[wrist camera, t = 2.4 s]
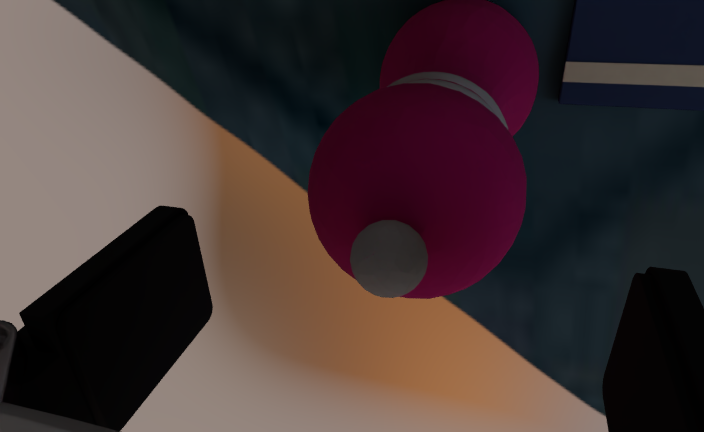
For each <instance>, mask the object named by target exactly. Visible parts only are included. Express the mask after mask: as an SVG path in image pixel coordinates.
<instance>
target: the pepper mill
mask: <svg viewBox="0 0 704 432" xmlns="http://www.w3.org/2000/svg"><path fill="white" fill-rule="evenodd" d="M538 80H539V64H538V59H537V54H536V50H535V48H534V45H533V43H532V40H531V38H530V37H529V35H528V33H527V32H526V30H525V29H524V27H523V26H522V25H521V24H520V23H519V22H518V20H517V19H515V18H514V17H513V16H512V15H511V14H509V13H508V12H507V11H506V10H504V9H503V8H502V7H500V6H499V5H496V4H494V3H492V2H489V1H486V0H445V1H441V2H438V3H435V4H432V5H430V6H428V7H426V8H424V9H423V10H421V11H419V12H418V13H417V14H415V15H414V16H413V17H411V18H410V19H409V20H408V21H407V22H406V23H405V24H404V25H403V26H402V28H401V29H400V30H399V31H398V32H397V34H396V35H395V37H394V39H393V40H392V42H391V44H390V46H389V48H388V50H387V52H386V55H385V58H384V60H383V63H382V68H381V74H380V89H378V90H376V91H374V92H372V93H370V94H368V95H367V96H365V97H363V98H361V99H359V100H357V101H356V102H355V103H353V104H352V105H351V106H349V107H348V108H347V109H346V110H345V111H344V112H343V113H342V114H340V115H339V116H338V117H337V118H336V119H335V121H334V122H333V123H332V124H331V126H330V127H329V129H328V130H327V132H326V133H325V135H324V136H323V138H322V140H321V142H320V144H319V146H318V148H317V150H316V152H315V155H314V159H313V162H312V166H311V169H310V175H309V185H308V201H309V209H310V214H311V219H312V222H313V225H314V227H315V230H316V233H317V235H318V238H319V240H320V241H321V243H322V245H323V246H324V248H325V249H326V251H327V252H328V254H329V255H330V256H331V258H332V259H333V260H334V261H335V262H336V263H337V264H338V265H339V266H340V267H341V269H342V270H344V271H345V272H346V273H348V274H349V275H350V276H352V277H353V278H354V279H356V280H357V281H358V283H359V284H360V285H361V286H362V287H363V288H364V289H365V290H367V291H369V292H370V293H372V294H374V295H377V296H380V297H389V298H393V297H405V298H427V299H430V298H435V297H439V296H444V295H449V294H452V293H454V292H457V291H460V290H463V289H465V288H467V287H469V286H471V285H472V284H474V283H476V282H478V281H479V280H481V279H482V278H483V277H484V276H485V275H486V274H488V273H489V272H490V271H491V270H492V269H493V268H494V267H495V266H497V265H498V264H499V263H500V261H501V260H502V258H503V257H504V256H505V254H506V253H507V251H508V250H509V248H510V247H511V246H512V244H513V242H514V240H515V238H516V235H517V233H518V231H519V229H520V226H521V223H522V219H523V215H524V211H525V204H526V174H525V169H524V165H523V160H522V156H521V154H520V152H519V150H518V148H517V145H516V143H515V141H514V139H513V137H512V136H513V135H514V134H515V133H516V132H517V131H518V130H519V129H520V128H521V126H522V125H523V123H524V121H525V120H526V118H527V116H528V115H529V113H530V111H531V108H532V106H533V103H534V100H535V97H536V92H537V87H538Z"/></svg>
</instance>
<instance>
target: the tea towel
mask: <svg viewBox="0 0 704 432" xmlns="http://www.w3.org/2000/svg"><path fill="white" fill-rule="evenodd" d="M558 101H559V104H575V105H596V106H616V107H637V108H658V109H679V110H700V111H704V0H575V4H574V10H573V16H572V22H571V28H570V34H569V39H568V45H567V51H566V57H565V63H564V69H563V74H562V80H561V86H560V92H559V98H558Z"/></svg>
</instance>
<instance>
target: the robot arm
mask: <svg viewBox="0 0 704 432" xmlns="http://www.w3.org/2000/svg"><path fill="white" fill-rule="evenodd" d="M212 308H213V307H212V301H211V296H210V292H209V287H208V282H207V278H206V274H205V269H204V264H203V260H202V255H201V251H200V246H199V242H198V237H197V232H196V228H195V224H194V220H193V218H192V217H191V216H189V215H188V213H187V211H186V210H185V209H183V208H177V207H169V206H158V207H156V208H155V209H154V210H152V211H151V212H150V213H148V214H147V215H146V216H144V217H143V218H142V219H140V220H139V221H138V222H137V223H135V224H134V225H133V226H132V227H130V228H129V229H128V230H126V231H125V232H124V233H122V234H121V235H120V236H118V237H117V238H116V239H115V240H113V241H112V242H111V243H109V244H108V245H107V246H105V247H104V248H103V249H102V250H100V251H99V252H98V253H97V254H95V255H94V256H92V257H91V258H90V259H89V260H87V261H86V262H85V263H83V264H82V265H81V266H80V267H78V268H77V269H76V270H74V271H73V272H72V273H71V274H69V275H68V276H67V277H66V278H64V279H63V280H62V281H60V282H59V283H57V284H56V285H55V286H54V287H52V288H51V289H50V290H48V291H47V292H46V293H45V294H43V295H42V296H41V297H39V298H38V299H37V300H35V301H34V302H33V303H32V304H30V305H29V306H28V307H26V308H25V309H24V310H22V311H21V312H20V313H19V314H20V316H21V318H22V321H23V323H24V325H25V326H24V327H23V328H21V329H20V330H19V331H17V329H16V327H15V326H14V325H13V324H12V323H10V322H6V321H1V320H0V432H120V430H121V429H122V428H123V427H124V426H125V425H126V423H127V422H128V421H129V419H130V418H131V417H132V416H133V414H134V413H135V412H136V411H137V410H138V408H139V407H140V406H141V404H142V403H143V402H144V401H145V400H146V398H147V397H148V396H149V394H150V393H151V392H152V391H153V389H154V388H155V387H156V386H157V384H158V383H159V382H160V381H161V379H162V378H163V377H164V376H165V374H166V373H167V372H168V371H169V369H170V368H171V367H172V366H173V364H174V363H175V362H176V361H177V359H178V358H179V357H180V356H181V354H182V353H183V352H184V351H185V349H186V348H187V347H188V345H189V344H190V343H191V342H192V341H193V339H194V338H195V337H196V336H197V334H198V333H199V332H200V331H201V329H202V328H203V327H204V326H205V324H206V323H207V322H208V320H209V319H210V317H211V314H212ZM603 400H604V406H605V412H606V418H607V424H608V431H609V432H704V308H703V306H702V304H701V302H700V300H699V297H698V295H697V293H696V291H695V289H694V286H693V284H692V282H691V280H690V278H689V276H688V274H687V273H686V272H685V271H680V270H672V269H664V268H656V267H649V268H648V269H647V271H646V273H645V274H641V273H636V274H635V275H634V277H633V280H632V283H631V287H630V290H629V293H628V297H627V300H626V303H625V307H624V310H623V313H622V317H621V320H620V323H619V327H618V330H617V334H616V337H615V340H614V344H613V347H612V350H611V354H610V357H609V360H608V364H607V367H606V370H605V374H604V378H603Z"/></svg>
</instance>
